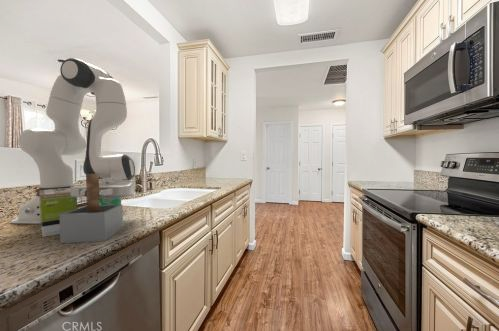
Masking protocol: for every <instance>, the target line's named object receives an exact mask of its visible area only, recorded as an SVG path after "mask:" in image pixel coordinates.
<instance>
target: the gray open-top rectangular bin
mask: <svg viewBox="0 0 499 331" xmlns="http://www.w3.org/2000/svg"><path fill="white" fill-rule="evenodd" d="M59 216H60V234H59V238H60V244H67V243H71V244H72V243H87V242H89V243H90V242H105V241H107V240H108V239H110V238H111V237H112V236H115V234H118V232H120V231H121V230H123V229H124V221H123V220H124V219H123V217H124V216H123V204H121V205H100V212H95V213H87V205H83V206H80V207H77V209H74V210H71V211H68V212H65V213H62V214H59Z"/></svg>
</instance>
